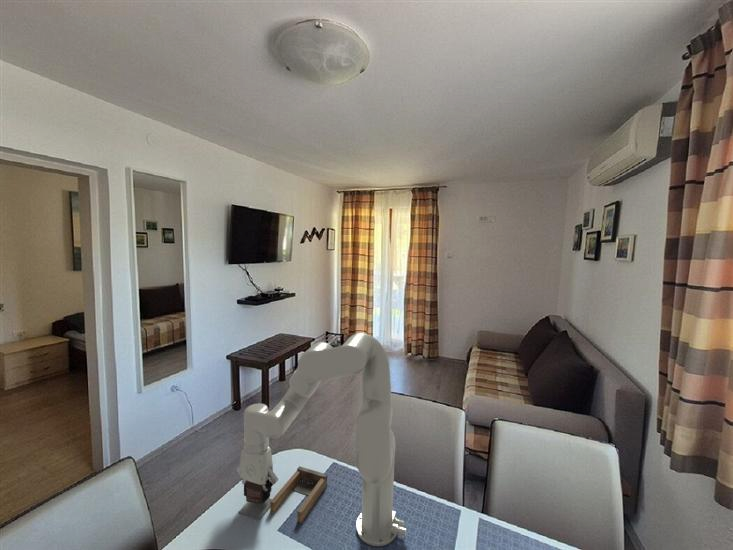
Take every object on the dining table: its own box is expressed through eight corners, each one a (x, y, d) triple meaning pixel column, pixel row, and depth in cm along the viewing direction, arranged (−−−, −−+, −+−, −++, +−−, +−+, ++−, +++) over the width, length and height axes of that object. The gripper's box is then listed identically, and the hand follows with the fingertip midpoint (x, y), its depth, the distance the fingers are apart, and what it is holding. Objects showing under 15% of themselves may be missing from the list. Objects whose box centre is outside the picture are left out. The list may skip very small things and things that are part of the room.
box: (272, 491, 105) (271, 470, 105) (262, 505, 99) (262, 483, 99) (255, 488, 106) (255, 467, 106) (245, 502, 101) (245, 480, 100)
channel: (327, 484, 112) (327, 474, 112) (301, 523, 96) (301, 511, 96) (299, 476, 116) (299, 466, 116) (270, 511, 100) (270, 500, 100)
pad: (275, 501, 104) (275, 500, 104) (259, 520, 97) (259, 519, 97) (255, 494, 107) (255, 493, 107) (238, 512, 100) (238, 511, 100)
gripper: (226, 444, 100) (227, 497, 101) (271, 457, 94) (271, 513, 95) (243, 431, 107) (244, 481, 108) (286, 443, 101) (286, 495, 102)
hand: (257, 495), depth 102 cm, fingers closed on box, 6 cm apart
